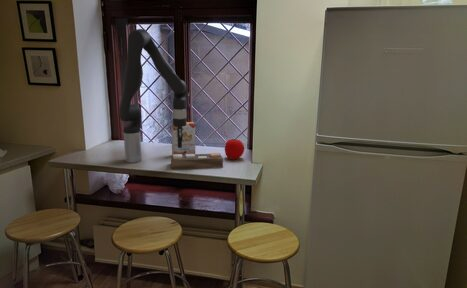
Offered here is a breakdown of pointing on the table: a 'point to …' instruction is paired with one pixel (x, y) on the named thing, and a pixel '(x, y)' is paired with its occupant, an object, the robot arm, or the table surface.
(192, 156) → the grey key
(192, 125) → the cracker box
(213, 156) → the terracotta key
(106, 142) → the table surface
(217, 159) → the brown long block
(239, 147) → the red apple
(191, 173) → the table surface
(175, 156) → the ivory key
